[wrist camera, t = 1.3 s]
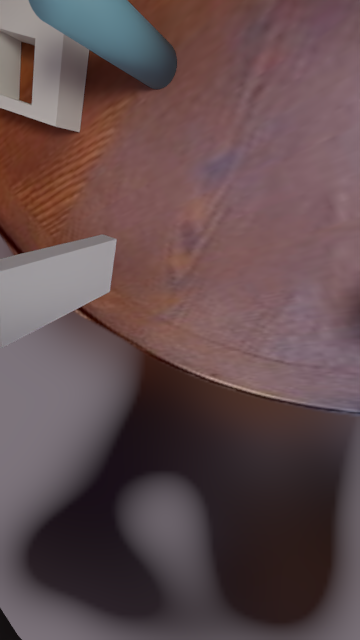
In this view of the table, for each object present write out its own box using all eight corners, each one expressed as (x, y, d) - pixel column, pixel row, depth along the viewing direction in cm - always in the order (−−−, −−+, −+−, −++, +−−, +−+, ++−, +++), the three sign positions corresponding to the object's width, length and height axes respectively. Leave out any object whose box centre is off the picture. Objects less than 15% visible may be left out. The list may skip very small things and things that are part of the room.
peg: (144, 34, 31) (26, -73, 18) (181, 44, 31) (85, -62, 18) (136, 83, 33) (23, 17, 20) (170, 93, 32) (76, 31, 19)
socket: (0, -67, 33) (-37, -97, 29) (100, -47, 30) (73, -77, 27) (-3, 104, 39) (-33, 96, 36) (79, 132, 37) (55, 126, 34)
